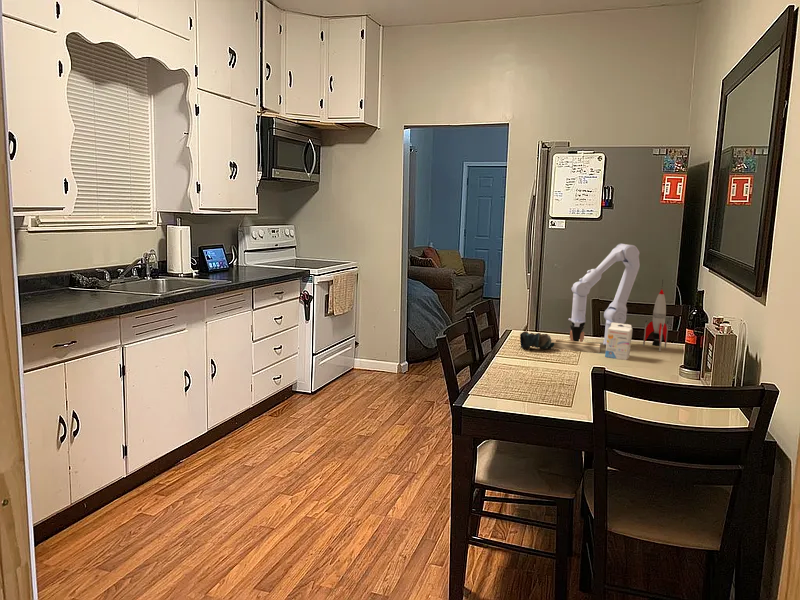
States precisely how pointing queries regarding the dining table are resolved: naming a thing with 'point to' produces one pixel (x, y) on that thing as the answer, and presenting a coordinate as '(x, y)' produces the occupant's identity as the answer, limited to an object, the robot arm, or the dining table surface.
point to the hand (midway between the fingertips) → (576, 340)
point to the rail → (576, 346)
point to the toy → (657, 322)
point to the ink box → (618, 341)
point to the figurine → (535, 341)
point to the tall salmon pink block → (580, 336)
